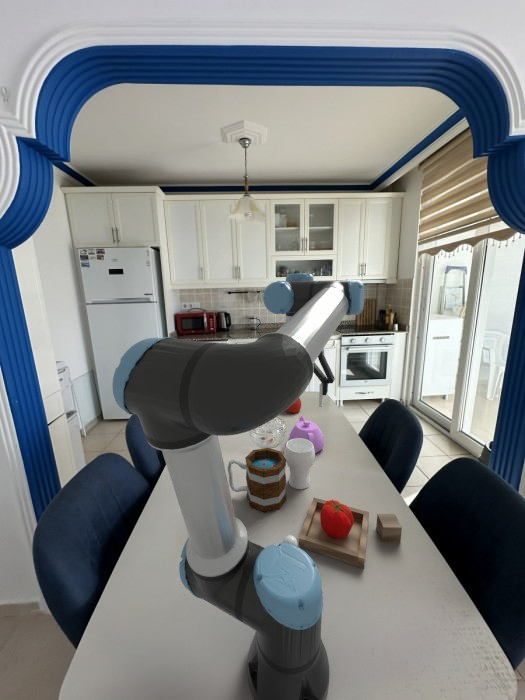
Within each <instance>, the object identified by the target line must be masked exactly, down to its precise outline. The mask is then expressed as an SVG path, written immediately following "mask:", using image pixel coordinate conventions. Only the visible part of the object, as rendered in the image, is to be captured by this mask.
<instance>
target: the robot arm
mask: <svg viewBox="0 0 525 700" xmlns="http://www.w3.org/2000/svg"><path fill="white" fill-rule="evenodd" d="M365 294H366V290H365V285H364V283H363V281H361V280H359V279H358V280H357V279H356V280H355V279H347V278H346V279H337V280H334V279H333V280H314V276H313V274H311V273H304V272H303V273H288V274H287V275H286V277H285V280H276V281H273V282H271V283H270V284H268V285H267V286H266V287H265V289H264V290H263V294H262V298H263V304H264V306H265V308H266V309H267V310H268V311H269V313H272V314H275V315H285V323H283V324H282V326H280V327H279V329H277V330H276V331H274V332H273V331H272V332H269V333H265V334H263V335H261V336H260V337H258V338H257V339H256V340H255V341H252V342H248V343H245V342H244V343H223V342H222V343H219V342H209V341H202V340H201V341H200V340H199V341H198V340H189V339H179V338H175V337H172V336H171V337H170V336H164V337H149V338H145V339H142V340H139V341H138V342H136V343H134V344H133V345H132V346H130V347H129V348H128V349H127V350H126V351H125V353H123V355H122V357H121V358H120V362H119V364H118V366H116V367H115V370H114V373H113V377H112V384H111V385H112V386H111V387H112V388H111V389H112V395H113V399H114V401H115V402H116V404H117V405H118V407H119V408H121V410H123V411H125V413H127V414H128V415H133V416H137V417H138V419H139V422H140V424H141V428H142V430H143V433H144V436H145V439H146V441H147V443H148V445H150V446H151V448H153V449H156V450H157V451H161V452H162V455H163V458H164V461H165V465H166V468H167V470H168V474H169V477H170V480H171V482H172V487H173V489H174V493H175V496H176V499H177V502H178V505H179V508H180V511H181V514H182V518H183V521H184V523H185V527H186V530H187V533H188V538H187V539H186V541H185V543H184V545H183V547H182V551H181V555H180V557H181V561H179V569H178V570H179V571H178V572H179V577H180V580H181V583H182V585H183V586H184V588H185V589H187V590H188V591H189V592H190V593H191V594H192V595H193V596H194V597H196V598H197V599H202V600H204V601H206V602H207V603H209V604H211V605H213V606H214V607H216V608H217V609H219V610H221V611H222V612H224V613H226V614H228V615H229V616H231V617H232V618H234V619H235V620H237V621H239V622H241V623H242V624H244V625H245V626H247V627H249V628H251V629H253V630H254V631H255V633H254V635H253V638H252V640H251V642H250V646H249V651H248V655H247V656H248V657H247V678H248V684H249V689H250V692H251V695H252V697H253V700H326V699H327V696H328V692H329V685H330V663H329V658H328V657H329V656H328V653H327V650H326V646H325V645H324V642H323V639H322V615H323V614H322V613H323V607H324V596H323V593H324V592H323V585H322V578H321V574H320V571H319V570H318V568H317V565H316V563H315V561H314V560H313V558H312V557H311V556H310V555H309V554H308V553H307V552H306V550H304V549H303V548H300V547H299V546H298V547H297V546H295V545H292V544H288V543H282V542H279V544H276V543H273V544H269V545H268V546H266V547H263V546H261V545H259V544H257V543H254V542H252V541H250V540H249V536H248V531H247V528H246V525H244V523H243V522H242V520H240V518H238V517H237V516H236V514H235V510H234V504H233V501H232V495H231V490H230V484H229V482H228V481H229V480H228V476H227V472H226V468H225V462H224V458H223V454H222V449H221V445H220V440H219V436H220V437H221V436H224V437H225V436H234V435H239V434H243V433H247V432H250V431H252V430H255V429H257V428H259V427H262V426H263V425H265V424H267V423H269V422H270V421H272V420H273V419H275V418H277V417H278V416H279V415H282V414H283V413H284V412H285V411H286V410H287V409H288V408H289V407H290V406H291V405H292V404H293V403H294V402H296V401H297V399H298V398H300V397H301V396H302V395H303V393H305V391H306V389H308V386H309V385H310V383H311V381H312V379H313V376H314V375H315V376H316V378H317V379H318V380H319V381H320V384H319V390H318V391H319V393H318V395H319V396H318V397H319V398H318V407H320V408H322V407H323V405H324V404H325V402H324V401H325V396H326V395H327V394H328V389H329V384H333V383H334V381H335V380H336V378H335V376H334V374H333V371H332V369H331V367H330V365H329V363H328V361H327V359H326V357H325V349H324V348H325V347H326V346H327V344H328V342H329V341H330V339H331V338H332V336H333V334H334V333H335V332H336V330H337V328H338V327H339V326H340V324H341V322H342V321H343V319H344V318H345V317H346V315H347V316H357V315H360V314H362V312H363V310H364V307H365V298H366V295H365ZM317 359H318V361H319V363H320V366H321V368H322V370H323V371H322V370H321V368H320V367H319V366H318V365H317V363H316V361H317Z"/></svg>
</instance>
